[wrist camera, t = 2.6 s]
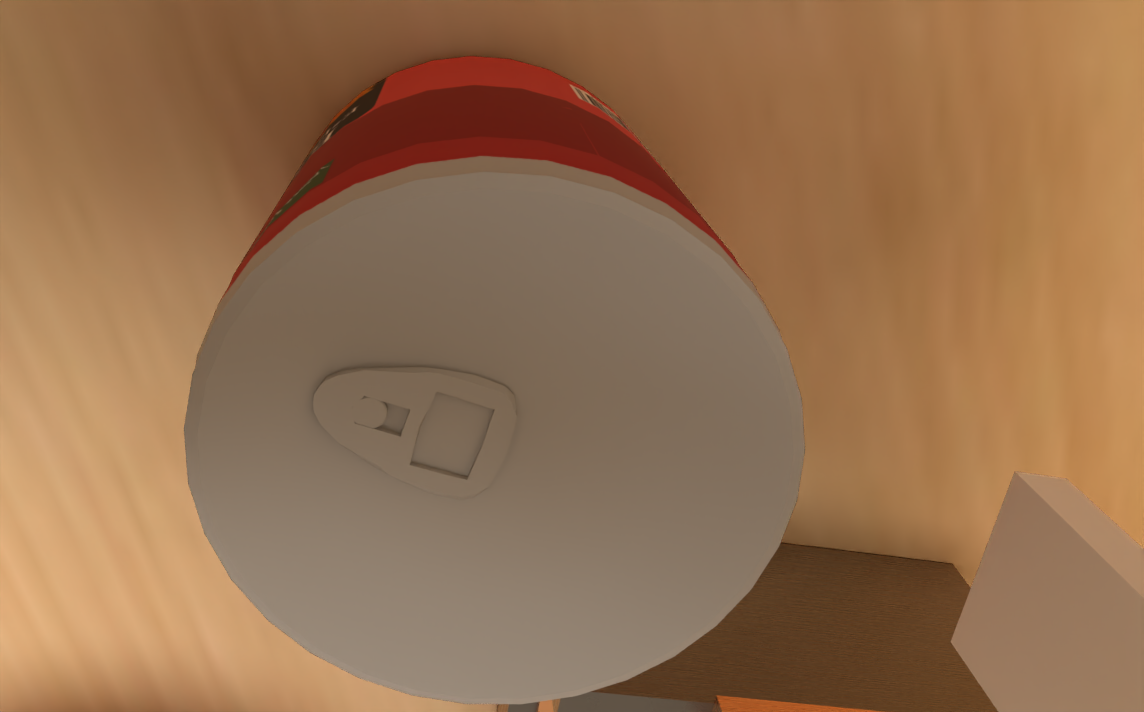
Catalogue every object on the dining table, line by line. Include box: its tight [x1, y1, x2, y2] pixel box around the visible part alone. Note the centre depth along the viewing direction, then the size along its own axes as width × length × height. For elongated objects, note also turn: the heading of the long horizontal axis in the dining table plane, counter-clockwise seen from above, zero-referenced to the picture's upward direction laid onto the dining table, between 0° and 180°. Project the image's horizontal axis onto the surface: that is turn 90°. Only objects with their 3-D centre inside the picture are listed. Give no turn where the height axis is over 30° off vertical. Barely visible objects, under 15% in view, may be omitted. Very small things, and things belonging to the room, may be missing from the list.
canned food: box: [184, 56, 805, 704], centre depth 19 cm, size 8×8×11 cm
